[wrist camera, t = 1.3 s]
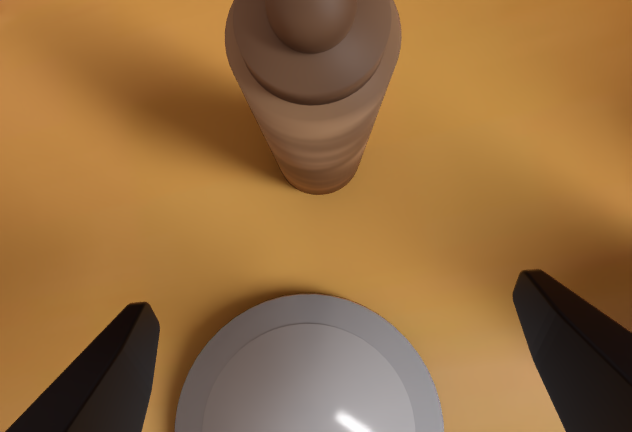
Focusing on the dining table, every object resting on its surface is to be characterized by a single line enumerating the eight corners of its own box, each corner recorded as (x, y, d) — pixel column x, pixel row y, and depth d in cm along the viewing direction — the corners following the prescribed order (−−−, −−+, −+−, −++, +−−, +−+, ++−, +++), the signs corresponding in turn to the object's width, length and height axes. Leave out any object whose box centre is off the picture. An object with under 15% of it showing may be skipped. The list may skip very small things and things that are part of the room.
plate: (275, 620, 21) (272, 641, 20) (133, 388, 22) (122, 396, 21) (491, 459, 21) (500, 471, 20) (340, 244, 23) (341, 243, 22)
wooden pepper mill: (308, 210, 23) (279, 124, 8) (261, 144, 23) (154, -53, 9) (376, 163, 23) (469, -5, 8) (329, 98, 24) (336, -171, 9)
